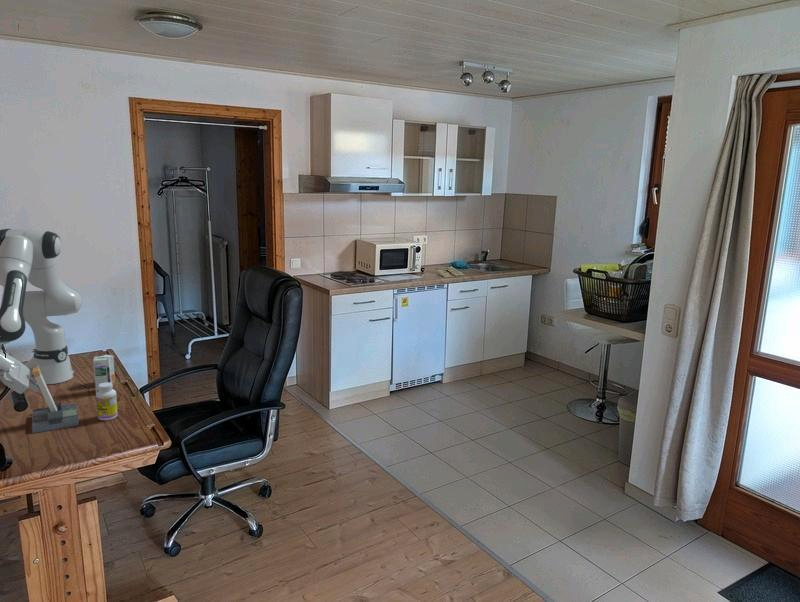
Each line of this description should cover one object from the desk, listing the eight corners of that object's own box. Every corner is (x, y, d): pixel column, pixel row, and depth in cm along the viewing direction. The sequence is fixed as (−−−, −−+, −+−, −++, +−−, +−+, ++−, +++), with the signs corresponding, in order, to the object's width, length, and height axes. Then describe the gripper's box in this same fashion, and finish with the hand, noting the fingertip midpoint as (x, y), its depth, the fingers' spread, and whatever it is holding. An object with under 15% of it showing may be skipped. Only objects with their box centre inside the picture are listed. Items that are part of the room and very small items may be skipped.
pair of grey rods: (33, 415, 211) (32, 410, 211) (33, 411, 214) (32, 407, 213) (76, 408, 218) (76, 404, 218) (76, 405, 221) (75, 401, 221)
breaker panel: (32, 433, 197) (30, 419, 196) (33, 416, 210) (31, 403, 209) (79, 425, 204) (77, 411, 203) (76, 409, 217) (75, 396, 216)
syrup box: (95, 394, 232) (92, 360, 229) (96, 389, 238) (94, 356, 235) (111, 392, 235) (108, 358, 232) (112, 387, 240) (109, 354, 237)
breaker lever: (53, 419, 203) (32, 373, 197) (52, 412, 209) (32, 367, 203) (58, 416, 204) (38, 371, 198) (58, 410, 210) (38, 365, 204)
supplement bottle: (93, 419, 209) (90, 385, 207) (108, 412, 215) (106, 380, 213) (107, 422, 207) (104, 388, 204) (122, 415, 213) (119, 383, 210)
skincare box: (106, 386, 241) (103, 359, 239) (97, 385, 242) (94, 358, 240) (115, 381, 247) (113, 355, 245) (107, 380, 248) (105, 354, 245)
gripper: (6, 368, 187) (44, 391, 194) (10, 351, 204) (44, 373, 211) (-9, 383, 186) (30, 406, 193) (-4, 365, 203) (31, 387, 210)
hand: (38, 389), depth 202 cm, fingers closed
